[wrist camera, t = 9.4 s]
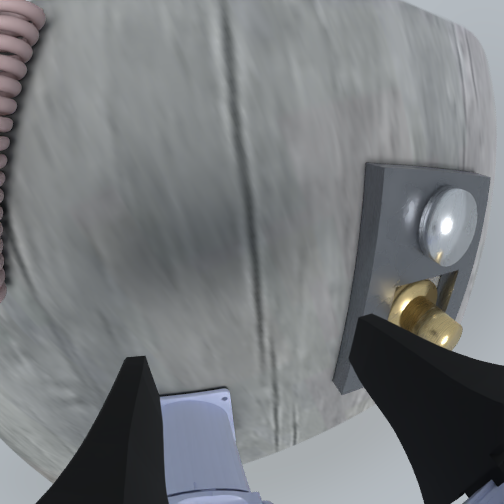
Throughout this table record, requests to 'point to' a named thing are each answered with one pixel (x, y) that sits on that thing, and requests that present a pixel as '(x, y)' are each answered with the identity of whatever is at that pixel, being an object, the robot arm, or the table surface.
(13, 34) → the coil
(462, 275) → the carrier plate
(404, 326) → the gold flanged round piece
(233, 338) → the table surface
